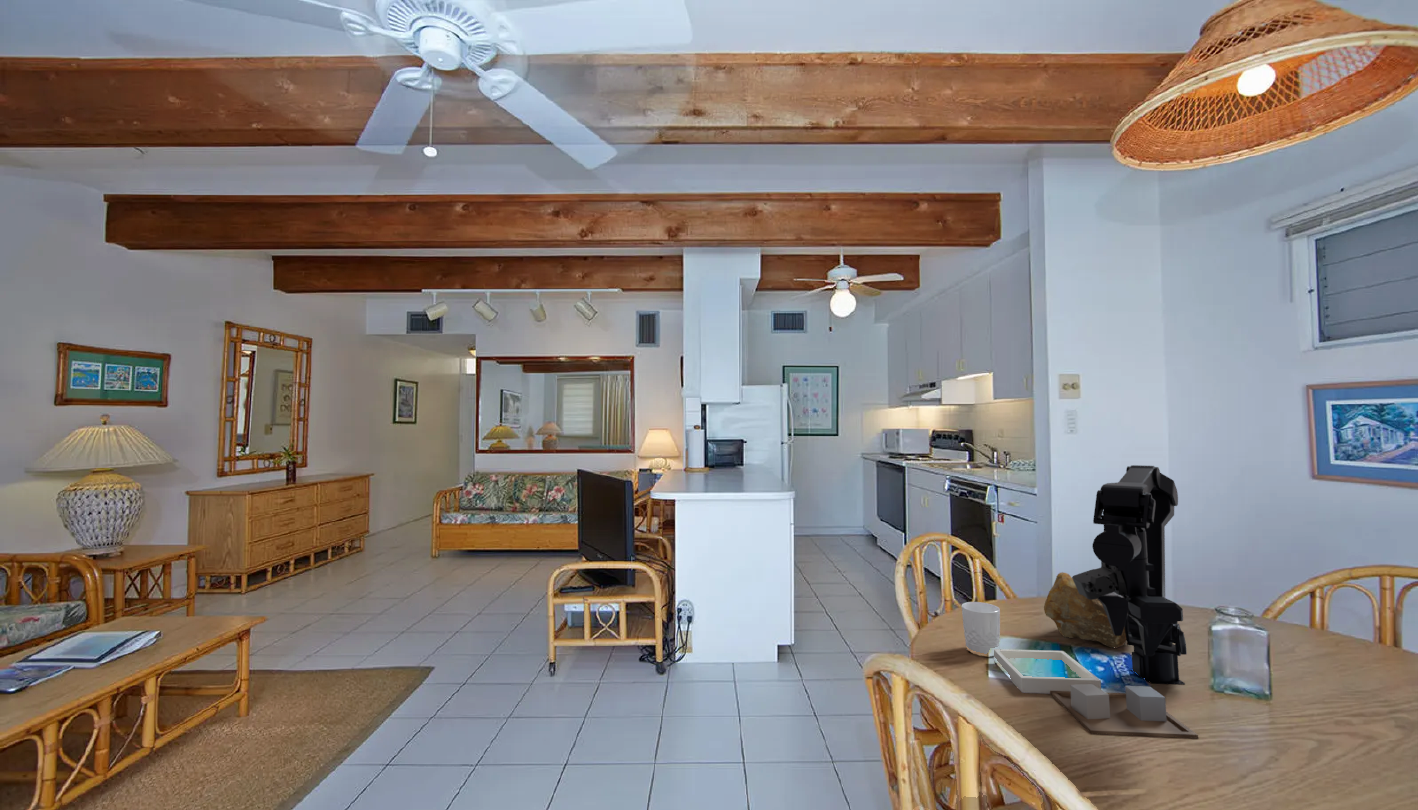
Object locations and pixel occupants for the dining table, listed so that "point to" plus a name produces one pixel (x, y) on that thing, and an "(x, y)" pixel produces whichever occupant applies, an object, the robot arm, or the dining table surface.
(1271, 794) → the dining table surface
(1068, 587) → the rough brown rock
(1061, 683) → the cream dish
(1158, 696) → the grey block
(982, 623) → the white cup
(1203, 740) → the dining table surface
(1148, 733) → the walnut tray
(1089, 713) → the small grey cuboid
